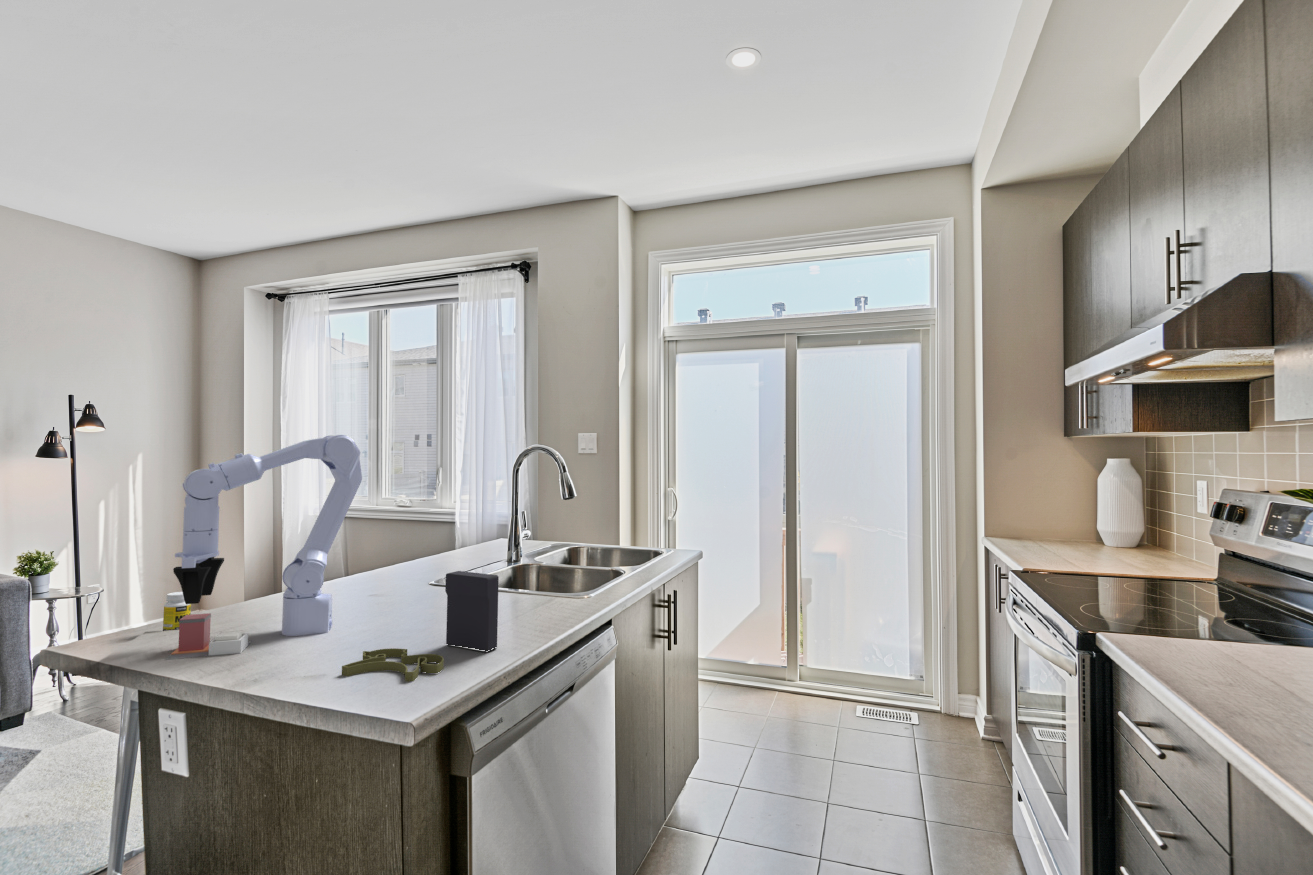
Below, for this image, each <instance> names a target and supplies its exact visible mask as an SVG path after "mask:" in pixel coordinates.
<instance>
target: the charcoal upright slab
mask: <svg viewBox="0 0 1313 875" xmlns="http://www.w3.org/2000/svg"><path fill="white" fill-rule="evenodd" d="M499 577H500V576H498V575H497V574H489V573H481V572H479V573H478V572H471V571H461V570H456V571H453V572H446V574H445V589H444V590H445V593H446V595H447V596H446V600H447V601H446V604H447V605H446V630H445V631H446V632H445V633H446V636H445V637H446V639H445V640H446V641H445V644H448V645H455V646H462V647H468V648H475V649H479V650H485V651H488V650H491V649H492V648H495V647H497V648H498V615H499Z"/></svg>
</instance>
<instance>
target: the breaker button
mask: <svg viewBox="0 0 1313 875" xmlns="http://www.w3.org/2000/svg"><path fill="white" fill-rule="evenodd" d="M243 633H244V632H243V630H232V631H220V632H219V633H217V635H216V636H215V637H214V638H215V641H228V640H239V639H240V638H241V637H242V635H243Z"/></svg>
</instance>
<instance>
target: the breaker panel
mask: <svg viewBox="0 0 1313 875" xmlns="http://www.w3.org/2000/svg"><path fill="white" fill-rule="evenodd" d="M252 642H253V640H249V633H248V632H245V633H244V632H243V635H242V637H241V638H240V639H239V640H228V641H215V637H214V638H212V640H211V639H210V642H209V645H208V646H207V647H206V648H205V649H204V650H193V651H180V652H178V648H176V649H175V650H174V651H173V652H171V653H170V654H169V655H168V656H167V657H166V658H164V661H165V660H176V659H177V660H178V659H190V658H191V659H193V658H203V657H215V656H227V655H228V656H229V655H241V653H242V652H244V651H245V649H246V648H247V647H248V646H249V645H250V644H251V643H252Z"/></svg>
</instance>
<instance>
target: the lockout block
mask: <svg viewBox="0 0 1313 875" xmlns="http://www.w3.org/2000/svg"><path fill="white" fill-rule="evenodd" d="M211 619H212V613H197V614H196V613H195V614H194V613H193V614H192V613H191V615H186V616H184V617H183V618H181V619H180V620H179V630H178V647H177V649H178V652H180V651H193V650H204V649H205V648H206V647H207V646H208V645H209V642H210V641H211V622H212V621H211Z"/></svg>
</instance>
